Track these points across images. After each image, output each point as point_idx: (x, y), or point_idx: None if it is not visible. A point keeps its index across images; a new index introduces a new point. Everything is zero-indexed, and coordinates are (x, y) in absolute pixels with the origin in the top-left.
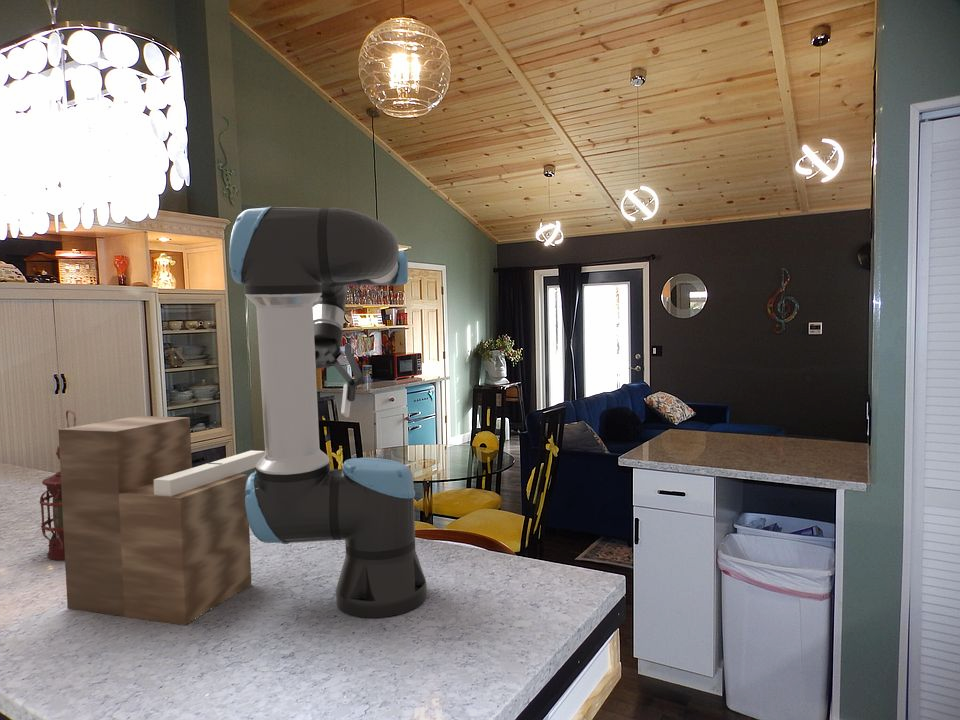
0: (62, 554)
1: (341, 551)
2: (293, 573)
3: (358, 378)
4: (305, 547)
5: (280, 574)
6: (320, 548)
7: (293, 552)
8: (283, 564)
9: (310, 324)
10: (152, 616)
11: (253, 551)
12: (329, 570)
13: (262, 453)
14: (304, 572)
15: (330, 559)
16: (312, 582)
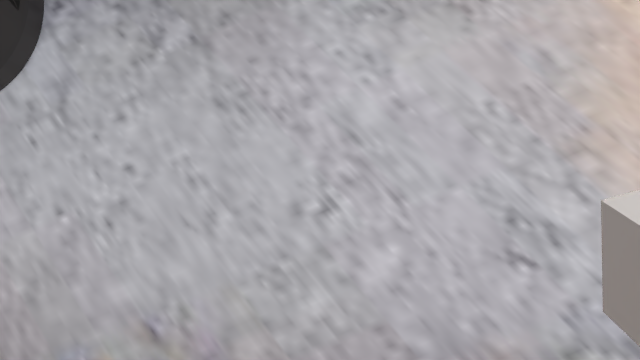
0: None
1: (221, 216)
2: (234, 37)
3: None
4: (341, 201)
5: (261, 18)
6: (294, 212)
7: (344, 154)
8: (304, 73)
9: None
10: None
11: (460, 114)
12: (161, 91)
13: None
14: (213, 54)
15: (209, 154)
16: (151, 13)
